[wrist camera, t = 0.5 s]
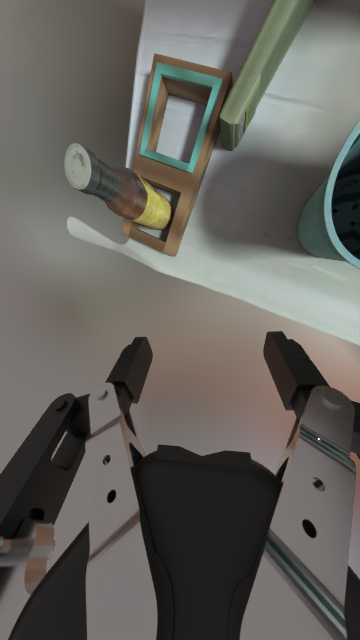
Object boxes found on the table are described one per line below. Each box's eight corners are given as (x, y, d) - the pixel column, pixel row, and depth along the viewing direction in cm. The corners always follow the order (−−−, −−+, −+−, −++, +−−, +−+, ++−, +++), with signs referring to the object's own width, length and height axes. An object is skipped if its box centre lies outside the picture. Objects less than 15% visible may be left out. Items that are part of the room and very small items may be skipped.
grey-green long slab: (218, 144, 28) (369, -154, 16) (233, 155, 28) (396, -138, 16) (215, 113, 22) (448, -390, 10) (234, 126, 22) (491, -366, 10)
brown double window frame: (162, 74, 27) (153, 50, 24) (232, 92, 25) (232, 69, 22) (129, 235, 38) (120, 232, 35) (175, 256, 36) (170, 255, 33)
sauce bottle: (175, 198, 32) (103, 122, 15) (172, 232, 35) (106, 202, 17) (147, 197, 34) (52, 127, 16) (146, 229, 36) (61, 199, 19)
